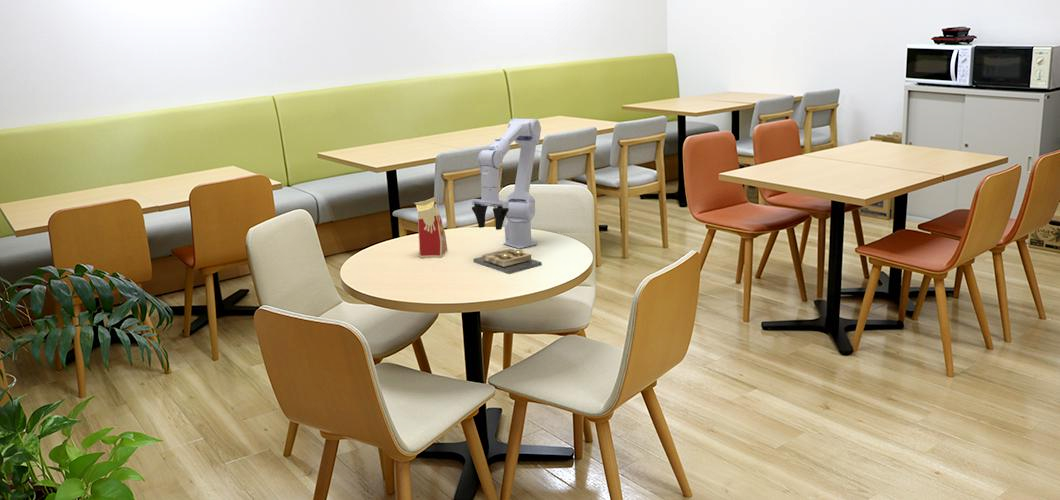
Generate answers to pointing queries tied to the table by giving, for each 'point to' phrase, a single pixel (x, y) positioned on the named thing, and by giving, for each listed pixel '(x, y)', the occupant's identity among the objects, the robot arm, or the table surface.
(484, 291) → the table surface
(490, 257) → the panel
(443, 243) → the red snack bag
